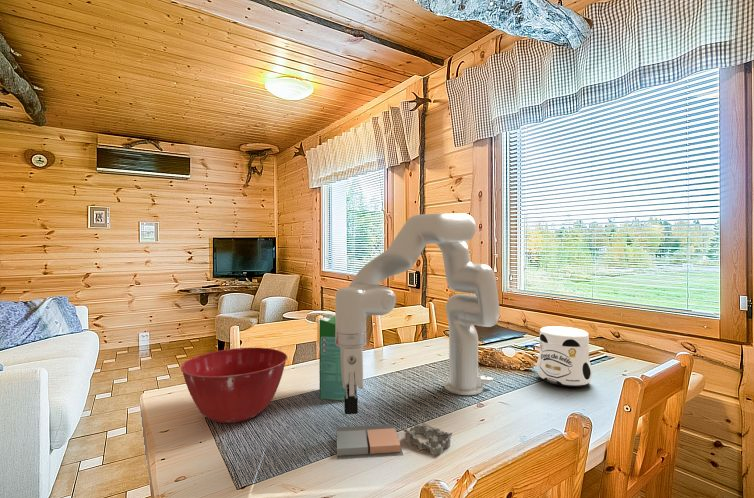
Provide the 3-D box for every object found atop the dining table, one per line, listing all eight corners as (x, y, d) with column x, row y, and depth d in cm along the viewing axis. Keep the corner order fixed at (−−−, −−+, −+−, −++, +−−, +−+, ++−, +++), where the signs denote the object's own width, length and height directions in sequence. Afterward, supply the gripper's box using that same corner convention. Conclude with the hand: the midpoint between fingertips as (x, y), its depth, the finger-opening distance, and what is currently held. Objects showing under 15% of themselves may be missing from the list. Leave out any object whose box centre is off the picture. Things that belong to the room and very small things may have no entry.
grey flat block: (365, 429, 95) (367, 446, 87) (365, 436, 95) (367, 454, 87) (336, 431, 94) (337, 448, 86) (336, 438, 94) (337, 456, 86)
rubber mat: (393, 426, 102) (393, 424, 102) (403, 457, 87) (403, 455, 87) (336, 429, 100) (336, 427, 100) (337, 461, 85) (337, 459, 85)
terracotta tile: (394, 428, 96) (400, 444, 88) (394, 435, 96) (400, 452, 88) (367, 429, 95) (370, 446, 87) (367, 436, 95) (370, 454, 87)
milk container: (541, 388, 128) (541, 335, 128) (533, 372, 145) (533, 324, 144) (598, 393, 124) (599, 338, 124) (583, 375, 141) (583, 326, 140)
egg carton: (400, 444, 93) (400, 428, 93) (419, 433, 98) (419, 417, 98) (437, 461, 86) (437, 443, 86) (455, 448, 91) (455, 431, 91)
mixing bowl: (187, 401, 118) (186, 351, 118) (281, 388, 128) (281, 342, 128) (174, 446, 92) (173, 382, 92) (294, 426, 102) (293, 368, 102)
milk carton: (347, 401, 118) (347, 320, 118) (319, 398, 120) (319, 319, 120) (354, 390, 127) (354, 315, 127) (328, 388, 129) (328, 314, 128)
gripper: (368, 345, 87) (369, 426, 87) (363, 331, 101) (363, 399, 102) (335, 346, 86) (335, 428, 86) (335, 331, 101) (335, 401, 101)
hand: (351, 412), depth 94 cm, fingers closed
